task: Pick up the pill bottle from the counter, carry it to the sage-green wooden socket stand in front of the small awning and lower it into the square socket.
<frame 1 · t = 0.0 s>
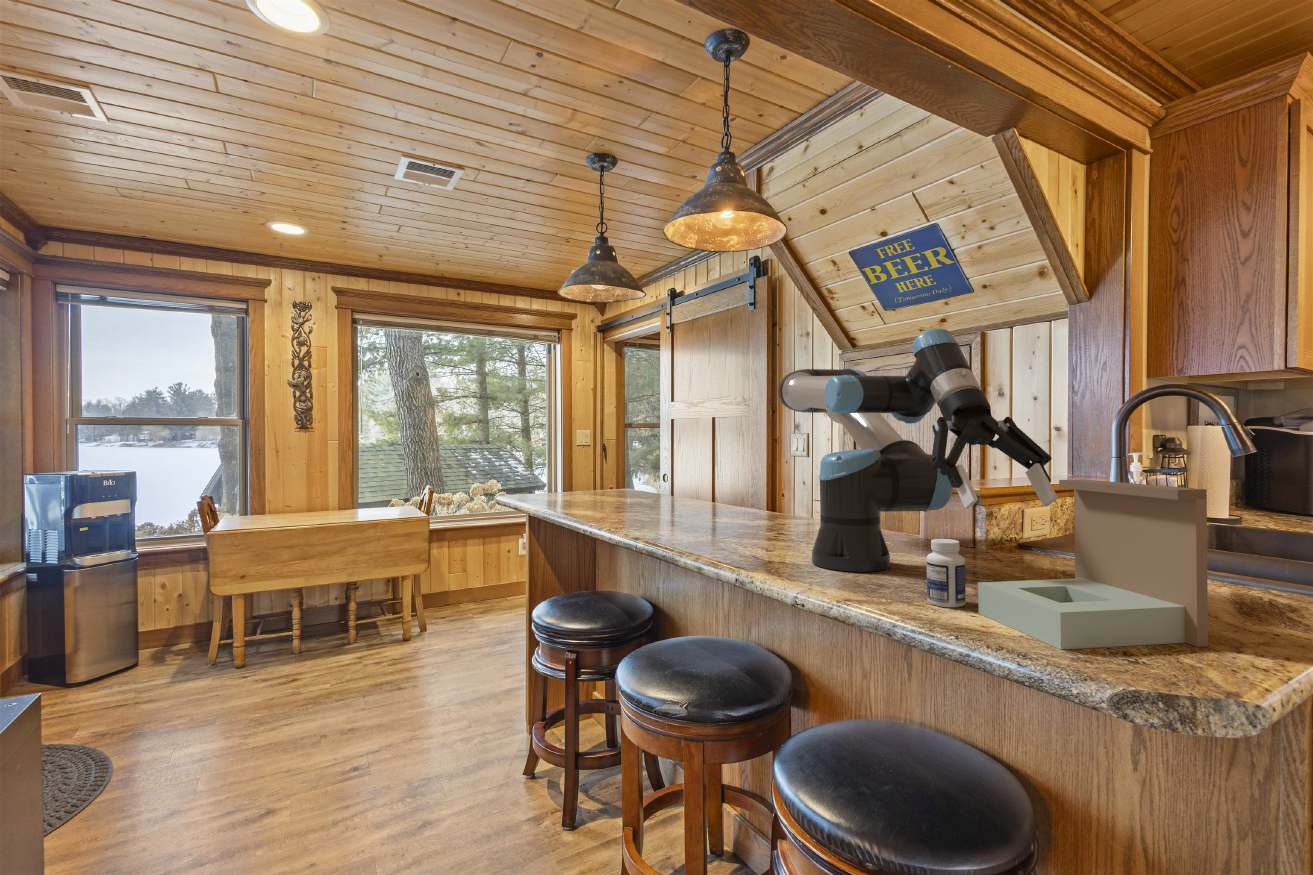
hand: (1011, 503, 93), 15 cm above the countertop, tool tilted 35°, fingers open, 13 cm apart
socket stand: (1063, 627, 79), on the countertop
pill bottle: (946, 604, 91), on the countertop
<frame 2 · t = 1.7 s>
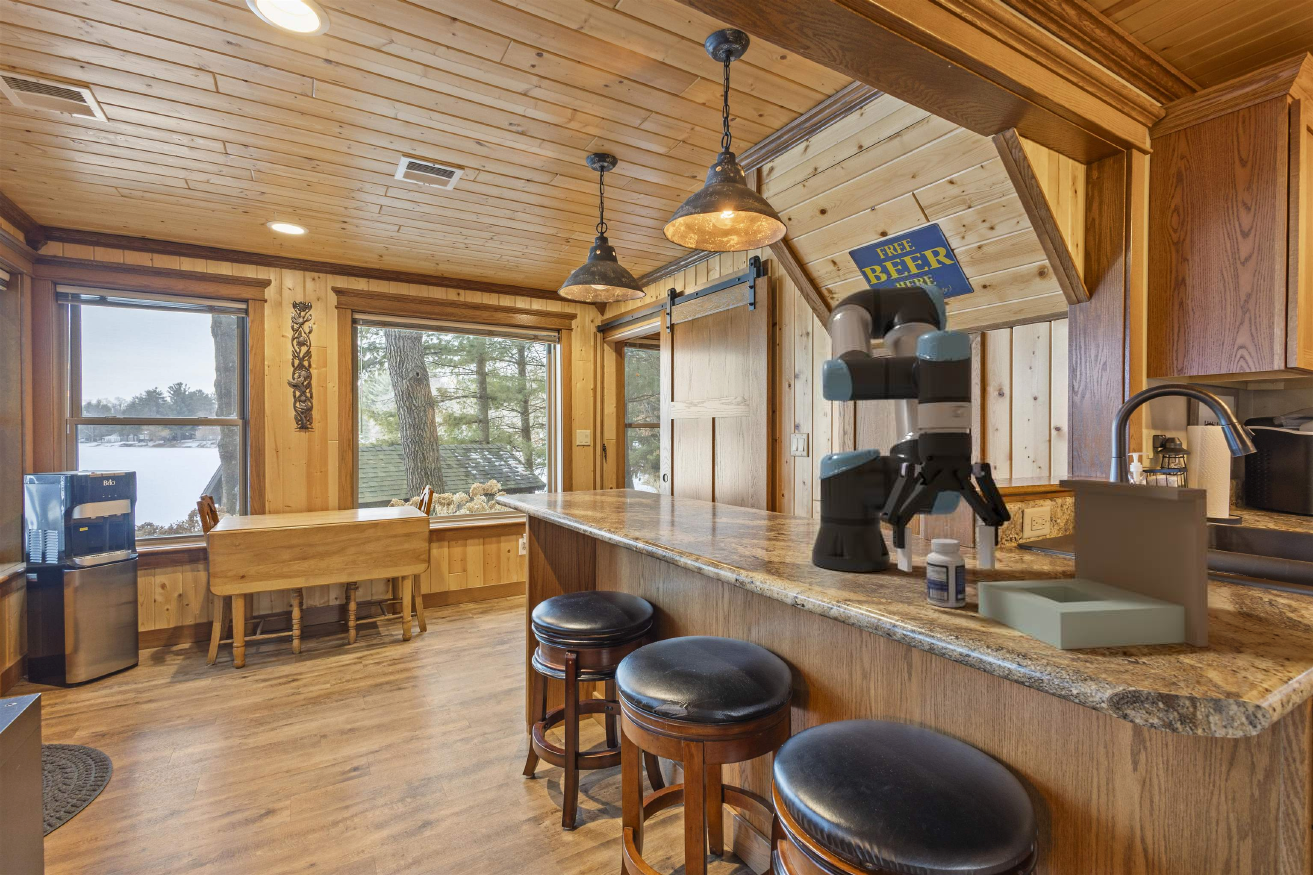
hand: (946, 568, 91), 5 cm above the countertop, tool pointing down, fingers open, 13 cm apart
nothing on the countertop moved.
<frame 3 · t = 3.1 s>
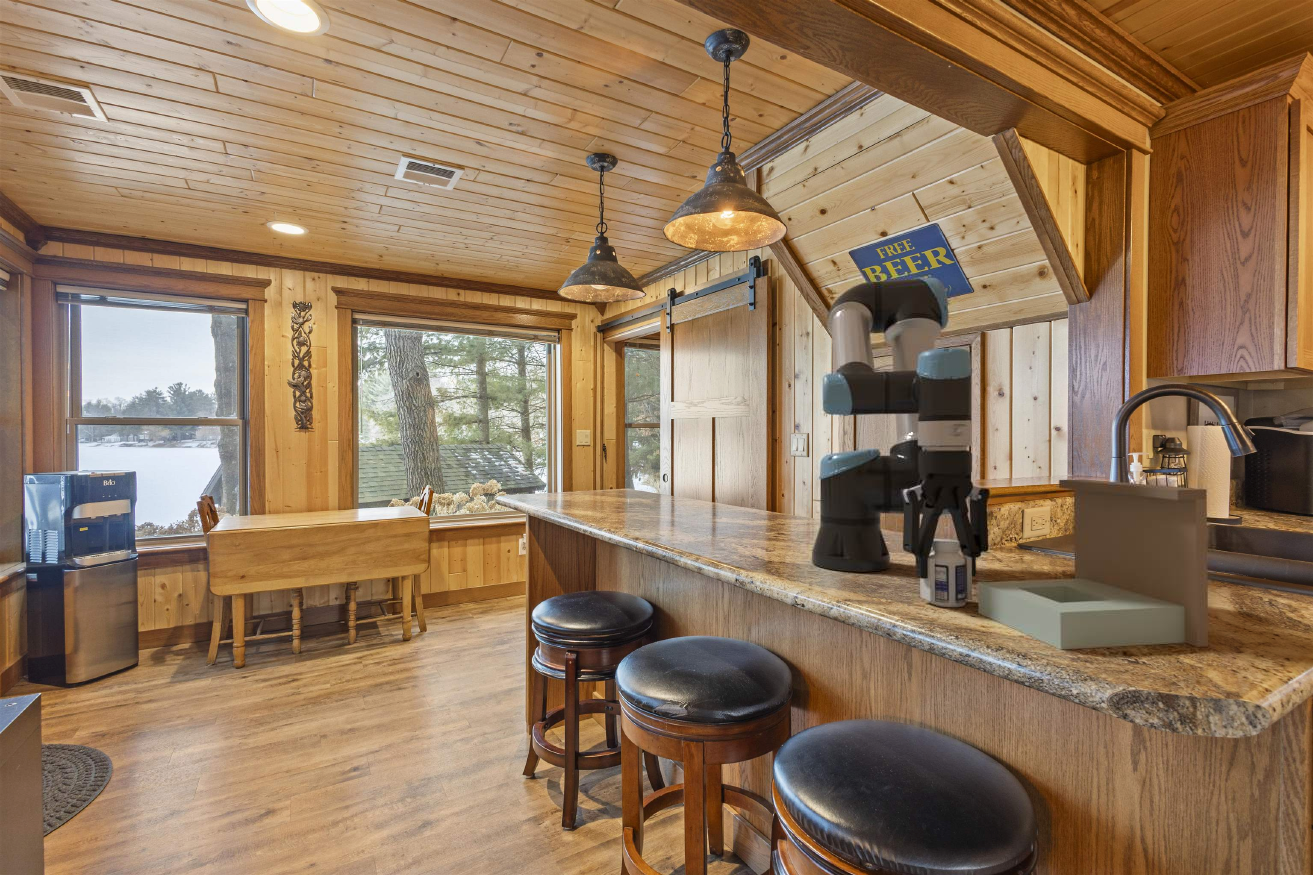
hand: (945, 597, 91), 1 cm above the countertop, tool pointing down, fingers closed on pill bottle, 5 cm apart
pill bottle: (946, 604, 91), on the countertop, touching gripper
everything else where it was.
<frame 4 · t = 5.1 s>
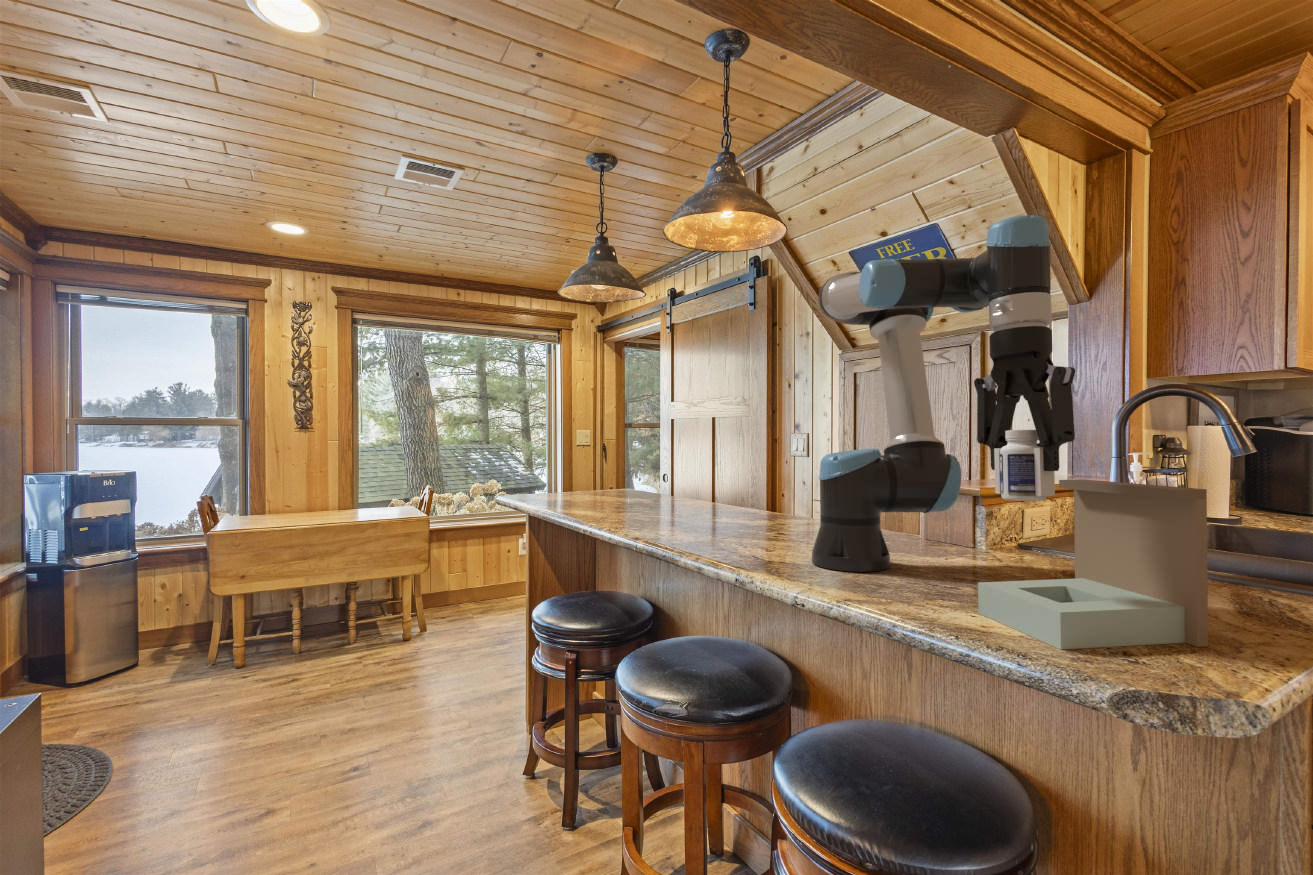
hand: (1024, 494, 82), 18 cm above the countertop, tool pointing down, fingers closed on pill bottle, 5 cm apart
pill bottle: (1023, 501, 82), point 17 cm above the countertop, touching gripper
everything else where it was.
when the fingers open (6 cm above the countertop, at t = 7.2 s): pill bottle drops 5 cm, resting on socket stand.
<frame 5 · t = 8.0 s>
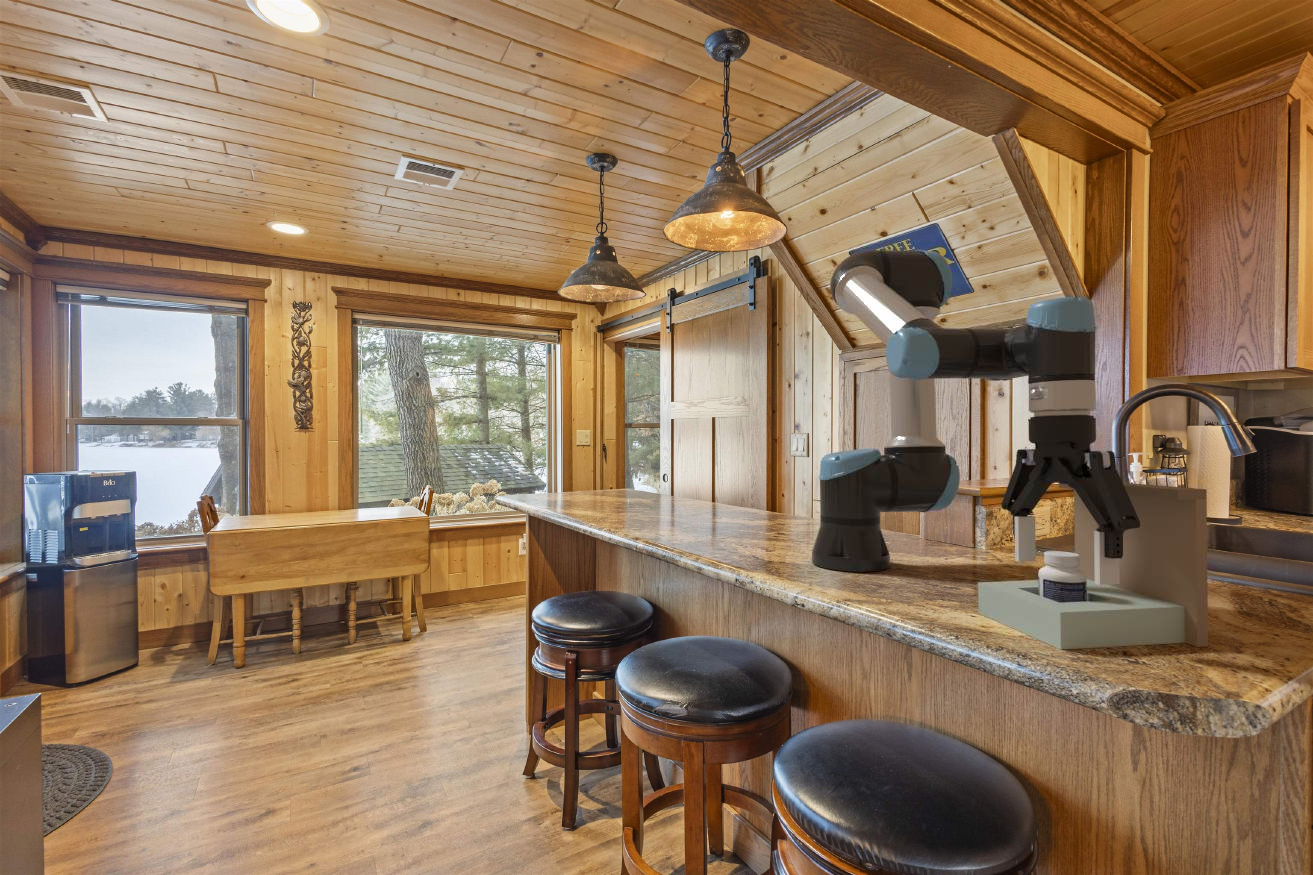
hand: (1062, 571, 79), 8 cm above the countertop, tool pointing down, fingers open, 13 cm apart
pill bottle: (1062, 626, 79), resting on socket stand
everything else where it was.
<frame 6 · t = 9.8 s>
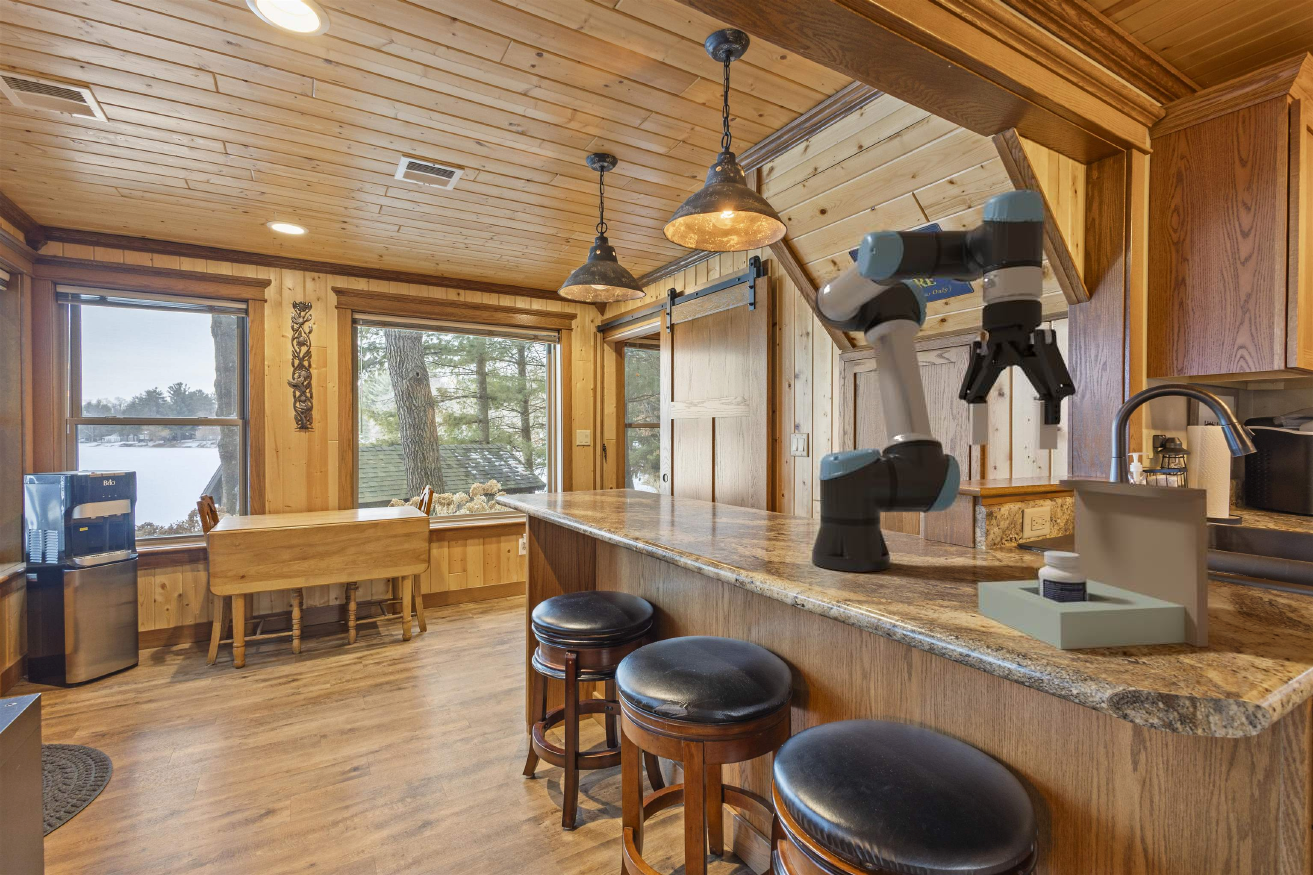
hand: (1009, 447, 87), 24 cm above the countertop, tool pointing down, fingers open, 13 cm apart
nothing on the countertop moved.
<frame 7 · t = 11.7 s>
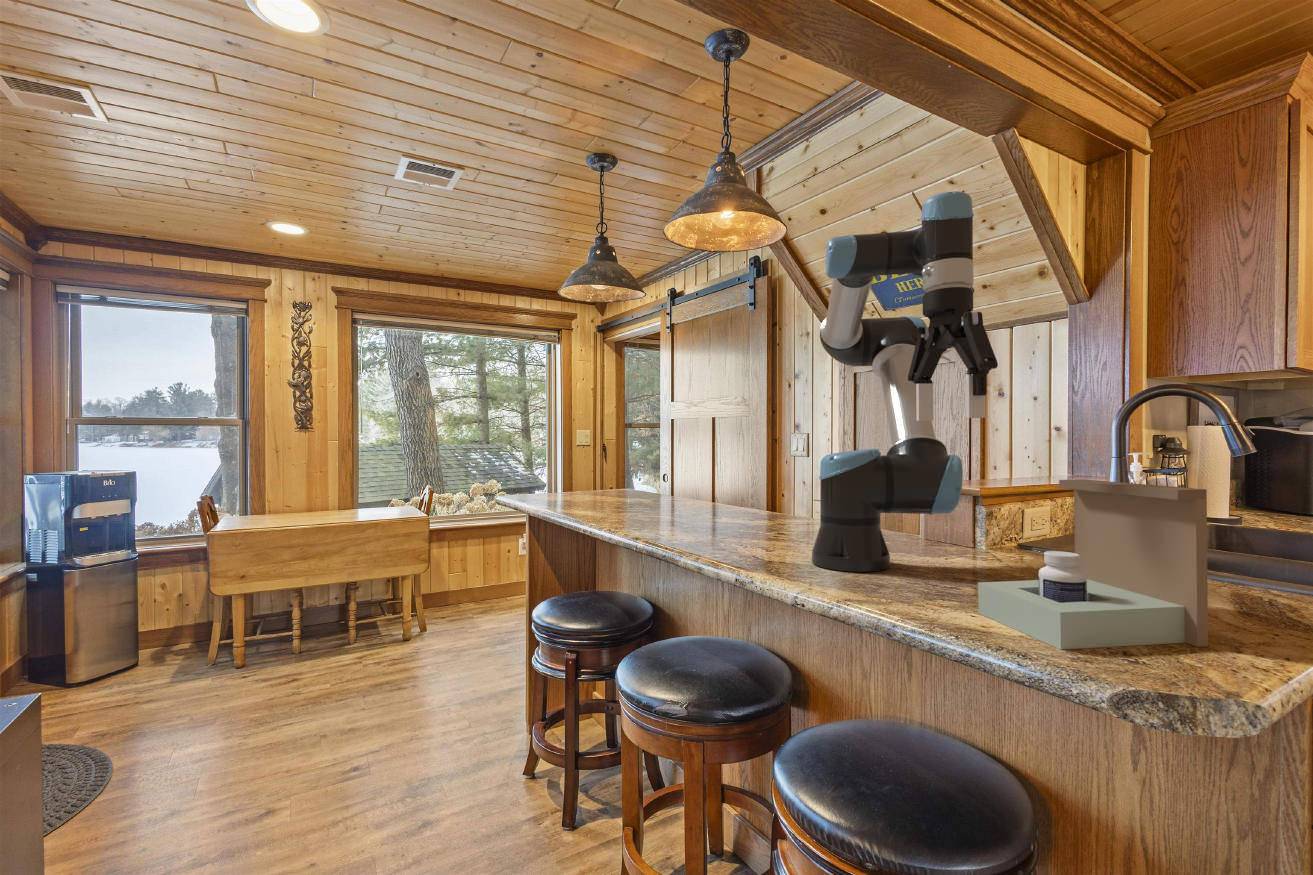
hand: (948, 419, 97), 29 cm above the countertop, tool pointing down, fingers open, 13 cm apart
nothing on the countertop moved.
at the end: pill bottle 0.0 cm off-centre on the socket stand, point 0.0 cm above the socket stand's base; pill bottle tilted 0°; the gripper is holding nothing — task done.
